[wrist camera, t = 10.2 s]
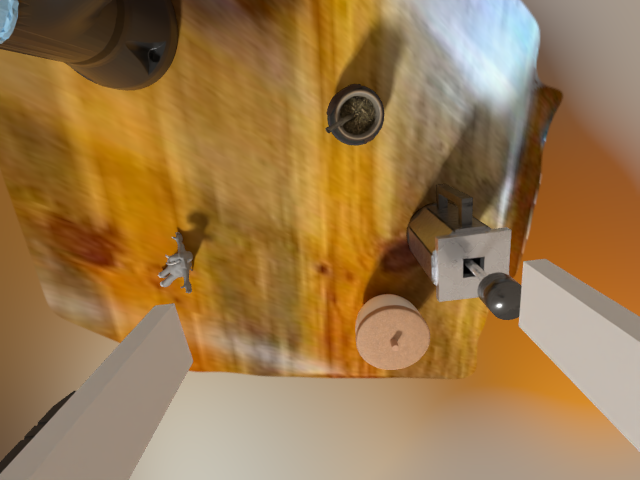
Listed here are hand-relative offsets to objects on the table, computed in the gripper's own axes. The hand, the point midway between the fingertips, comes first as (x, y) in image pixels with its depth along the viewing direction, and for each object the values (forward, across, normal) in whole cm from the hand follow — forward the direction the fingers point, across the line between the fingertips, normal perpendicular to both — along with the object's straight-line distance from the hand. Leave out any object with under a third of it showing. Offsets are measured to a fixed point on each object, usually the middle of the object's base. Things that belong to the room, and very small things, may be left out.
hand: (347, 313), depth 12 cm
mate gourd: (+37, +4, +7) cm, 38 cm away
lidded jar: (+37, +6, -24) cm, 44 cm away
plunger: (+34, +15, -11) cm, 39 cm away
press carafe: (+37, +15, -9) cm, 41 cm away
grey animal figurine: (+37, -24, -11) cm, 46 cm away
